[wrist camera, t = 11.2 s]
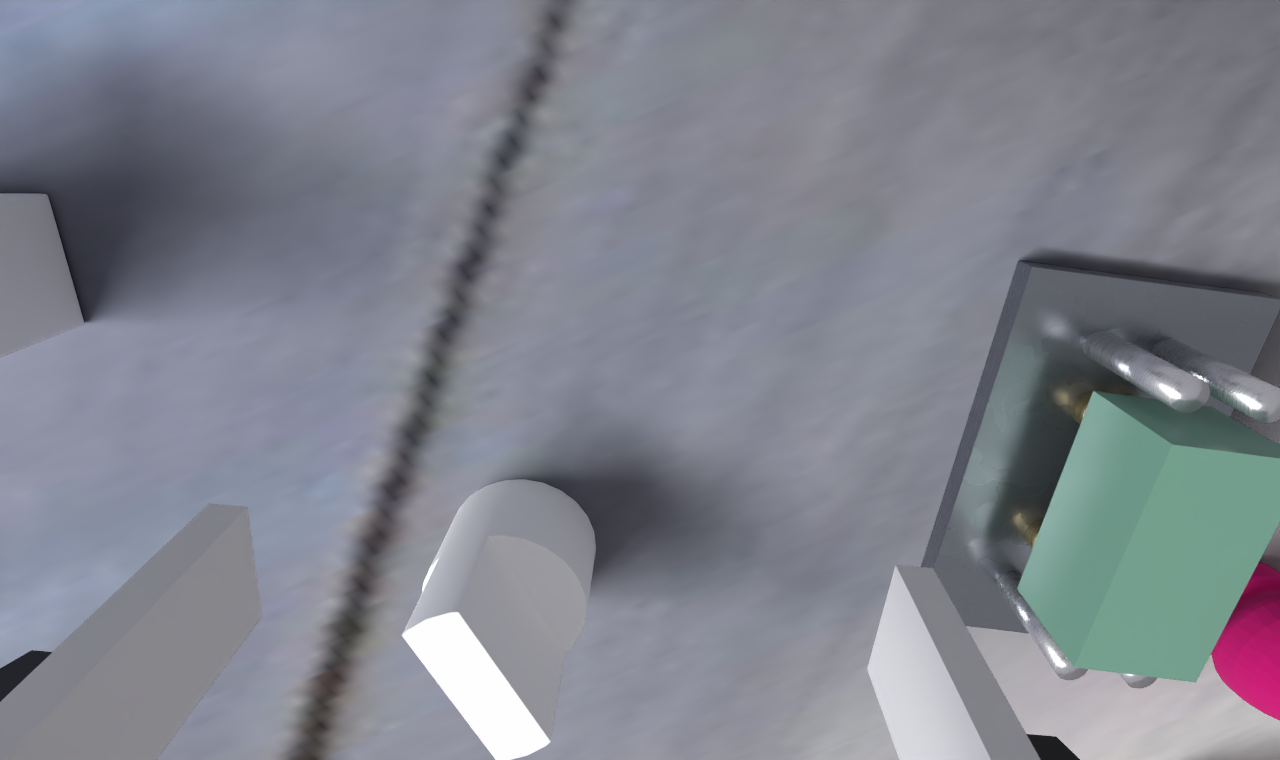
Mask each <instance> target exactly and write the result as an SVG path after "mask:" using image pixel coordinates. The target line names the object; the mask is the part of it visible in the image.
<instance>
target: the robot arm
mask: <svg viewBox="0 0 1280 760" xmlns="http://www.w3.org/2000/svg"><path fill="white" fill-rule="evenodd" d="M261 617H262V611H261V603H260V596H259V589H258V581H257V574H256V566H255V559H254V552H253V544H252V537H251V529H250V522H249V515H248V507H242V506H231V505H219V504H208V505H207V506H206V507H205V508H204V509H203V510H202V511H201V512H200V513H199V514H198V515H197V516H196V517H194V518H193V519H192V520H191V521H190V522H189V523H188V524H187V525H186V526H185V527H184V528H183V529H182V530H181V531H180V532H179V533H178V534H177V535H176V536H174V537H173V538H172V539H171V540H170V541H169V542H168V543H167V544H166V545H165V546H164V547H163V548H162V549H161V550H160V551H159V552H158V553H157V554H156V555H154V556H153V557H152V558H151V559H150V560H149V561H148V562H147V563H146V564H145V565H144V566H143V567H142V568H141V569H140V570H139V571H138V572H137V573H136V574H134V575H133V576H132V577H131V578H130V579H129V580H128V581H127V582H126V583H125V584H124V585H123V586H122V587H121V588H120V589H119V590H118V591H117V592H115V593H114V594H113V595H112V596H111V597H110V598H109V599H108V600H107V601H106V602H105V603H104V604H103V605H102V606H101V607H100V608H99V609H98V610H97V611H95V612H94V613H93V614H92V615H91V616H90V617H89V618H88V619H87V620H86V621H85V622H84V623H83V624H82V625H81V626H80V627H79V628H78V629H77V630H75V631H74V632H73V633H72V634H71V635H70V636H69V637H68V638H67V639H66V640H65V641H64V642H63V643H62V644H61V645H60V646H59V647H58V648H57V649H55V650H54V651H53V652H44V651H33V650H32V651H30V652H28V653H26V654H25V655H23V656H21V657H19V658H18V659H16V660H14V661H13V662H11V663H9V664H7V665H6V666H4V667H2V668H0V760H157V759H158V758H159V756H160V755H161V754H162V752H163V751H164V750H165V748H166V747H167V745H168V744H169V743H170V741H171V740H172V739H173V737H174V736H175V735H176V733H177V732H178V730H179V729H180V728H181V726H182V725H183V724H184V722H185V721H186V720H187V718H188V717H189V715H190V714H191V713H192V711H193V710H194V709H195V707H196V706H197V705H198V703H199V702H200V700H201V699H202V698H203V696H204V695H205V694H206V692H207V691H208V690H209V688H210V687H211V686H212V684H213V683H214V681H215V680H216V679H217V677H218V676H219V675H220V673H221V672H222V671H223V669H224V668H225V666H226V665H227V664H228V662H229V661H230V660H231V658H232V657H233V656H234V654H235V653H236V651H237V650H238V649H239V647H240V646H241V645H242V643H243V642H244V641H245V639H246V638H247V636H248V635H249V634H250V632H251V631H252V630H253V628H254V627H255V626H256V624H257V623H258V621H259V620H260V619H261ZM867 670H868V672H869V675H870V678H871V681H872V684H873V687H874V689H875V692H876V695H877V698H878V701H879V703H880V706H881V709H882V712H883V715H884V718H885V720H886V723H887V726H888V729H889V732H890V734H891V737H892V740H893V743H894V746H895V749H896V751H897V754H898V757H899V760H1080V759H1079V758H1078V757H1077V756H1076V755H1075V754H1074V753H1073V752H1072V751H1071V750H1069V749H1068V748H1067V747H1066V746H1065V745H1064V744H1063V743H1062V742H1061V741H1060V740H1059V739H1058V738H1057V737H1053V736H1041V735H1030V734H1026V733H1025V731H1024V729H1023V727H1022V726H1021V724H1020V722H1019V720H1018V718H1017V717H1016V715H1015V713H1014V711H1013V710H1012V708H1011V706H1010V704H1009V702H1008V701H1007V699H1006V697H1005V695H1004V694H1003V692H1002V690H1001V688H1000V686H999V685H998V683H997V681H996V679H995V678H994V676H993V674H992V672H991V670H990V669H989V667H988V665H987V663H986V662H985V660H984V658H983V656H982V654H981V653H980V651H979V649H978V647H977V645H976V644H975V642H974V640H973V638H972V637H971V635H970V633H969V631H968V629H967V628H966V626H965V624H964V622H963V621H962V619H961V617H960V615H959V613H958V612H957V610H956V608H955V606H954V605H953V603H952V601H951V599H950V597H949V596H948V594H947V592H946V590H945V589H944V587H943V585H942V583H941V581H940V580H939V578H938V576H937V574H936V572H935V571H934V569H933V568H925V567H914V566H903V565H896V566H895V569H894V573H893V577H892V580H891V584H890V588H889V591H888V595H887V599H886V602H885V606H884V610H883V613H882V617H881V621H880V624H879V628H878V632H877V635H876V639H875V643H874V646H873V650H872V654H871V657H870V661H869V665H868V668H867Z"/></svg>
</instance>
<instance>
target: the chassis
mask: <svg viewBox="0 0 1280 760" xmlns="http://www.w3.org/2000/svg"><path fill="white" fill-rule="evenodd" d="M1279 310H1280V299H1279V298H1276V297H1273V296H1270V295H1267V294H1264V293H1260V292H1252V291H1244V290H1237V289H1229V288H1222V287H1214V286H1206V285H1199V284H1191V283H1184V282H1176V281H1168V280H1161V279H1153V278H1146V277H1138V276H1131V275H1123V274H1115V273H1108V272H1100V271H1093V270H1085V269H1077V268H1070V267H1062V266H1055V265H1047V264H1039V263H1032V262H1024V261H1018V264H1017V267H1016V270H1015V274H1014V277H1013V280H1012V283H1011V286H1010V289H1009V292H1008V296H1007V299H1006V302H1005V305H1004V308H1003V311H1002V314H1001V318H1000V321H999V324H998V327H997V330H996V333H995V336H994V340H993V343H992V346H991V349H990V352H989V355H988V358H987V362H986V365H985V368H984V371H983V374H982V377H981V380H980V384H979V387H978V390H977V393H976V396H975V399H974V402H973V406H972V409H971V412H970V415H969V418H968V421H967V424H966V428H965V431H964V434H963V437H962V440H961V443H960V446H959V449H958V453H957V456H956V459H955V462H954V465H953V468H952V471H951V475H950V478H949V481H948V484H947V487H946V490H945V493H944V497H943V500H942V503H941V506H940V509H939V512H938V515H937V519H936V522H935V525H934V528H933V531H932V534H931V537H930V541H929V544H928V547H927V550H926V553H925V556H924V559H923V563H922V566H921V567H925V568H933V569H934V571H935V572H936V574H937V576H938V578H939V580H940V581H941V583H942V585H943V587H944V589H945V590H946V592H947V594H948V596H949V597H950V599H951V601H952V603H953V605H954V606H955V608H956V610H957V612H958V613H959V615H960V617H961V619H962V621H963V622H964V624H965V626H972V627H980V628H989V629H997V630H1005V631H1014V632H1022V633H1029V634H1030V636H1031V637H1032V639H1033V640H1034V642H1035V643H1036V644H1037V646H1038V647H1039V649H1040V650H1041V652H1042V653H1043V655H1044V656H1045V658H1046V659H1047V660H1048V662H1049V663H1050V665H1051V666H1052V668H1053V669H1054V671H1055V672H1056V674H1057V675H1058V676H1059V677H1060V678H1062V679H1065V680H1074V679H1078V678H1080V677H1081V676H1083V675H1084V674H1085V673H1086V672H1087V670H1088V669H1083V668H1075V667H1073V665H1072V664H1071V662H1070V661H1069V660H1068V658H1067V657H1066V655H1065V654H1064V653H1063V651H1062V650H1061V649H1060V647H1059V646H1058V644H1057V643H1056V642H1055V640H1054V639H1053V638H1052V636H1051V635H1050V633H1049V632H1048V631H1047V629H1046V628H1045V627H1044V625H1043V624H1042V622H1041V621H1040V620H1039V618H1038V617H1037V616H1036V614H1035V613H1034V611H1033V610H1032V609H1031V607H1030V606H1029V604H1028V603H1027V602H1026V600H1025V599H1024V598H1023V596H1022V595H1021V593H1020V592H1019V591H1018V589H1017V588H1018V585H1019V583H1020V580H1021V577H1022V575H1023V572H1024V570H1025V567H1026V564H1027V562H1028V559H1029V557H1030V554H1031V551H1032V549H1033V546H1034V544H1035V541H1036V538H1037V536H1038V533H1039V531H1040V528H1041V526H1042V523H1043V520H1044V518H1045V515H1046V513H1047V510H1048V507H1049V505H1050V502H1051V500H1052V497H1053V494H1054V492H1055V489H1056V487H1057V484H1058V481H1059V479H1060V476H1061V474H1062V471H1063V468H1064V466H1065V463H1066V461H1067V458H1068V455H1069V453H1070V450H1071V448H1072V445H1073V443H1074V440H1075V437H1076V435H1077V432H1078V430H1079V427H1080V424H1081V422H1082V419H1083V417H1084V414H1085V411H1086V409H1087V406H1088V404H1089V401H1090V398H1091V396H1092V393H1093V391H1098V392H1106V393H1113V394H1121V395H1129V396H1136V397H1144V398H1151V399H1158V400H1160V401H1162V402H1163V403H1165V404H1166V405H1168V406H1170V407H1171V408H1173V409H1175V410H1176V411H1178V412H1181V413H1190V412H1194V411H1196V410H1198V409H1200V408H1201V407H1202V406H1203V405H1204V406H1211V407H1213V408H1215V409H1216V410H1218V411H1220V412H1222V413H1224V414H1225V415H1227V416H1229V417H1231V414H1232V412H1233V410H1234V409H1236V410H1238V411H1240V412H1242V413H1243V414H1245V415H1247V416H1249V417H1251V418H1253V419H1255V420H1256V421H1258V422H1261V423H1272V422H1275V421H1277V420H1279V419H1280V388H1278V387H1275V386H1273V385H1271V384H1269V383H1267V382H1265V381H1263V380H1261V379H1258V378H1256V377H1254V376H1252V375H1250V373H1251V371H1252V369H1253V367H1254V365H1255V362H1256V360H1257V358H1258V356H1259V354H1260V352H1261V349H1262V347H1263V345H1264V343H1265V341H1266V339H1267V336H1268V334H1269V332H1270V330H1271V328H1272V326H1273V323H1274V321H1275V319H1276V317H1277V315H1278V313H1279ZM1119 674H1120V675H1121V677H1122V678H1123V679H1124V680H1125V682H1126V683H1127V684H1128V685H1129V686H1130V687H1133V688H1144V687H1147V686H1149V685H1151V684H1152V683H1154V682H1155V680H1156V679H1157V677H1149V676H1140V675H1132V674H1124V673H1119Z"/></svg>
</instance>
